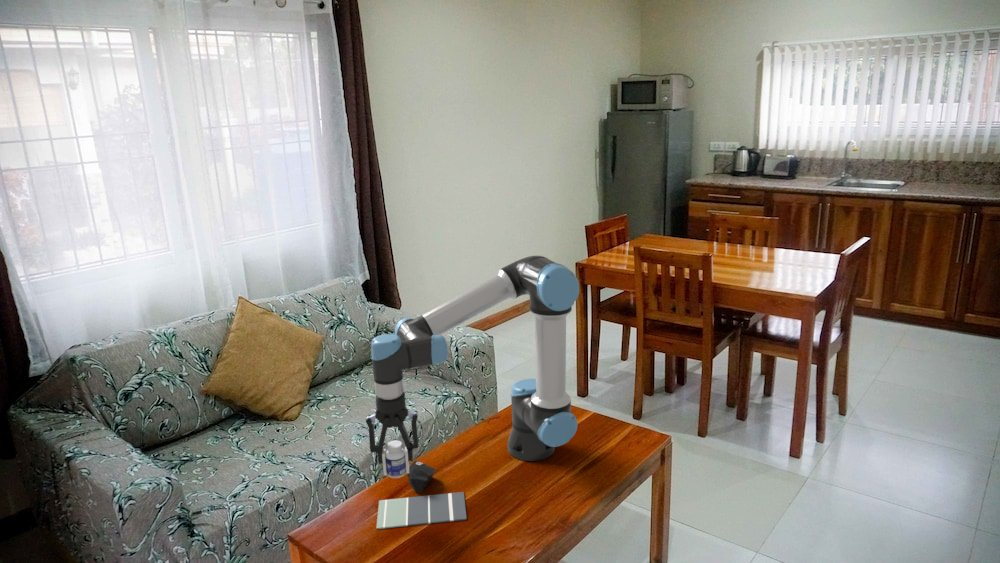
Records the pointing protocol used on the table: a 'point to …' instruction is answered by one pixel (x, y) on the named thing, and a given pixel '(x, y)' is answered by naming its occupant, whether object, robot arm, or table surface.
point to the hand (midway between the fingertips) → (396, 471)
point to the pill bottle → (395, 459)
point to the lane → (421, 510)
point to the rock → (419, 475)
